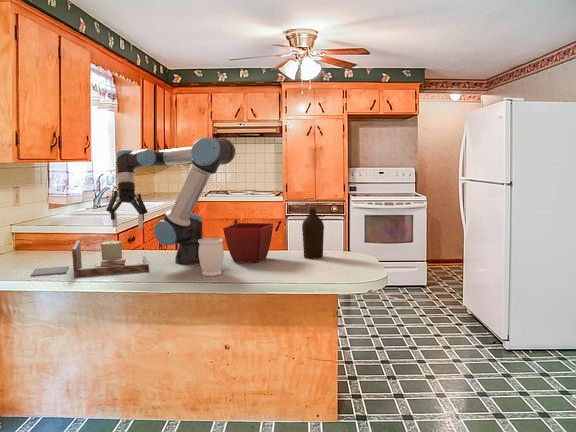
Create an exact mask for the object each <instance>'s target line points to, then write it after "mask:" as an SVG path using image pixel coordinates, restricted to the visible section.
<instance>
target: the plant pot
mask: <svg viewBox="0 0 576 432" xmlns="http://www.w3.org/2000/svg"><path fill="white" fill-rule="evenodd" d="M273 228H274V223H271V222H270V223H269V222H266V223H265V222H263V223H262V222H261V223H260V222H257V223H256V222H255V223H254V222H238V223H234V224H231V225H229V226H226V227H225V226H224V227H223V234H224V239H225V243H226V245H227V248H228V251H229V254H230V257H231V259H232V261H233V262H234V263H259V262H261V261H263V260H265V259H266V258H267V256H268V253H269V250H270V247H271V246H270V245H271V243H272V242H271V241H272V236H273V231H274V230H273Z"/></svg>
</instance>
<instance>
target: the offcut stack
mask: <svg viewBox="0 0 576 432" xmlns="http://www.w3.org/2000/svg"><path fill="white" fill-rule="evenodd" d="M125 264H126V258H122V259H108V260H102V259H101V261H100V263H99V264H98V263H97V264H95V268H98V267H111V266H124V265H125Z"/></svg>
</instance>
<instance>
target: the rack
mask: <svg viewBox="0 0 576 432" xmlns="http://www.w3.org/2000/svg"><path fill="white" fill-rule="evenodd" d="M81 247H82V246H81V240H78V239H77V240H76V241H75V243H74V245H73V247H72V249H71V251H72V254H71V255H72V267H73V278H78V277H91V276H103V275H115V274H125V273H128V274H129V273H139V272H149V271H150V268H149V265H150V264H149V261H148V260H147V256H142V262H143V263H138V264H126V265H124V266H111V267H98V268H96V267H88V268H82V250H81V249H82V248H81Z"/></svg>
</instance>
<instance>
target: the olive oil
mask: <svg viewBox="0 0 576 432" xmlns="http://www.w3.org/2000/svg"><path fill="white" fill-rule="evenodd" d="M308 212H309V214H308V215H307V217H306V218H304V220H303V222H302V224H301V231H302V232H301V233H302V245H303V258H304V259H307V260H308V259H309V260H317V259H322V258H324V234H325V225H324V221H323V220H322V219H321V218H320V216H319V215H318V214H317V206H315V205H314V206H309V211H308Z"/></svg>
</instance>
